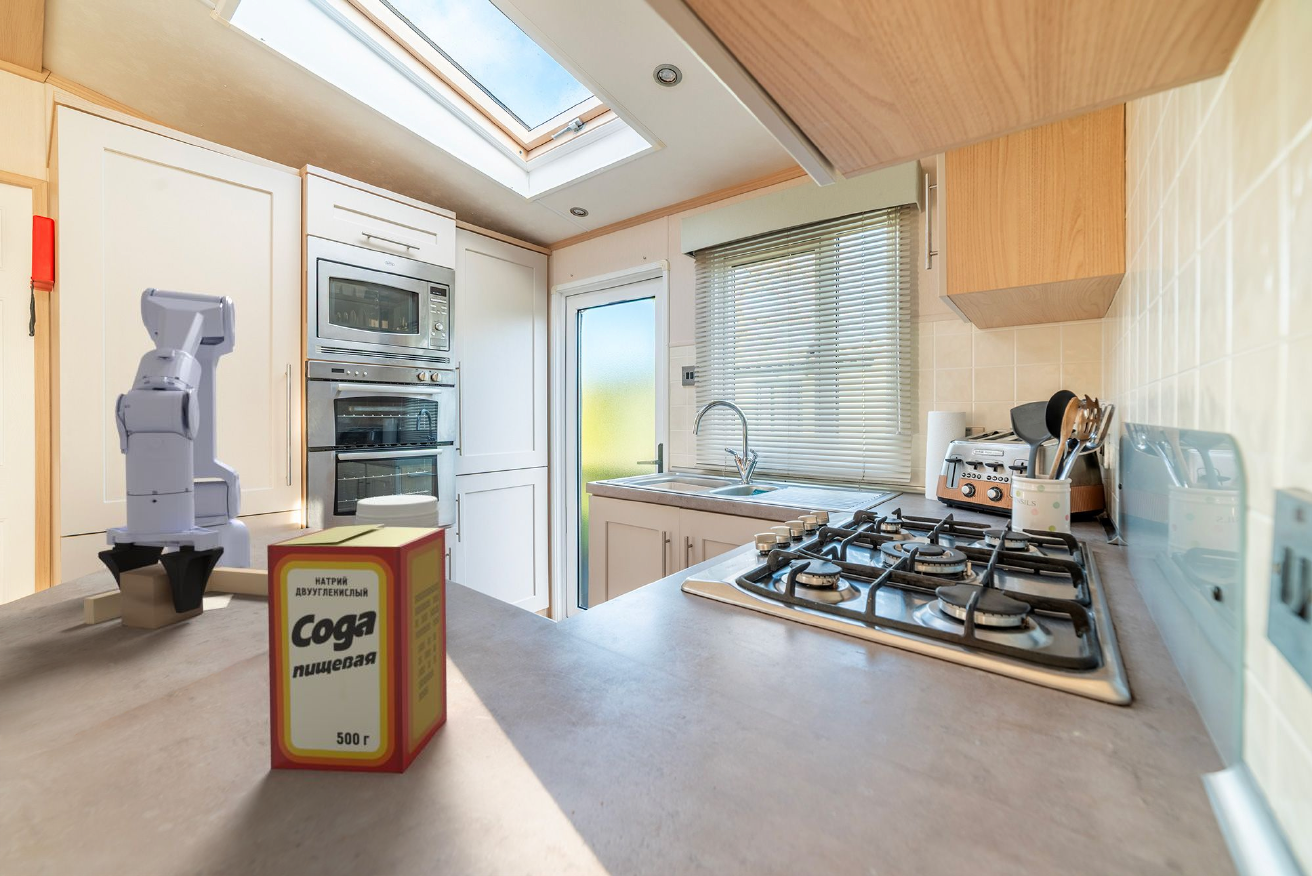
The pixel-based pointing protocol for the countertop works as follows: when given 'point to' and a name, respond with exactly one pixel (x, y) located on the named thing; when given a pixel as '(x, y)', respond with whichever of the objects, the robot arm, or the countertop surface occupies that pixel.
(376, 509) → the supplement tub
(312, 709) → the baking soda box
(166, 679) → the countertop surface
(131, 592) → the walnut block
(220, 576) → the corner board
